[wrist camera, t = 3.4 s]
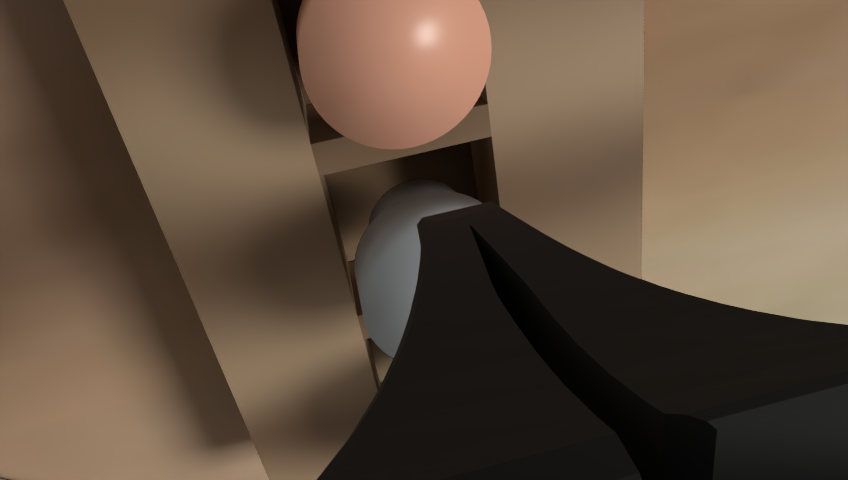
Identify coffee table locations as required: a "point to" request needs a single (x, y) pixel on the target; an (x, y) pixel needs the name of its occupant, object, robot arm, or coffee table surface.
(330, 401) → the wooden tray
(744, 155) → the coffee table surface
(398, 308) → the blue-grey ball
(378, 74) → the pink ball
